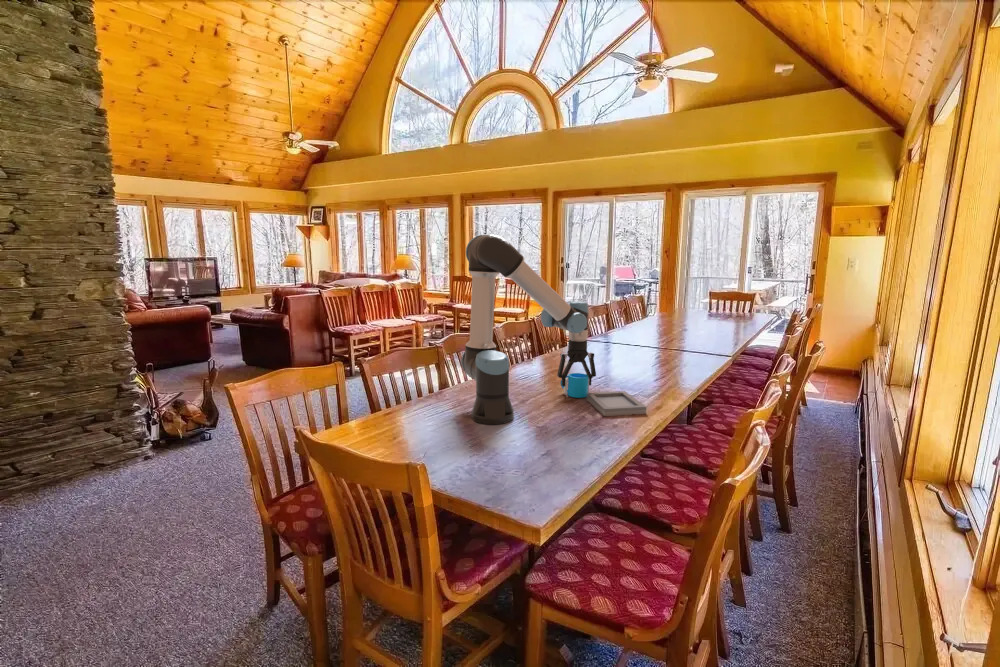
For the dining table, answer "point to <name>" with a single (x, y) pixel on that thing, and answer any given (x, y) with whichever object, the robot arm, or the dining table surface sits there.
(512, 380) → the dining table surface
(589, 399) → the tray
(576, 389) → the mug
